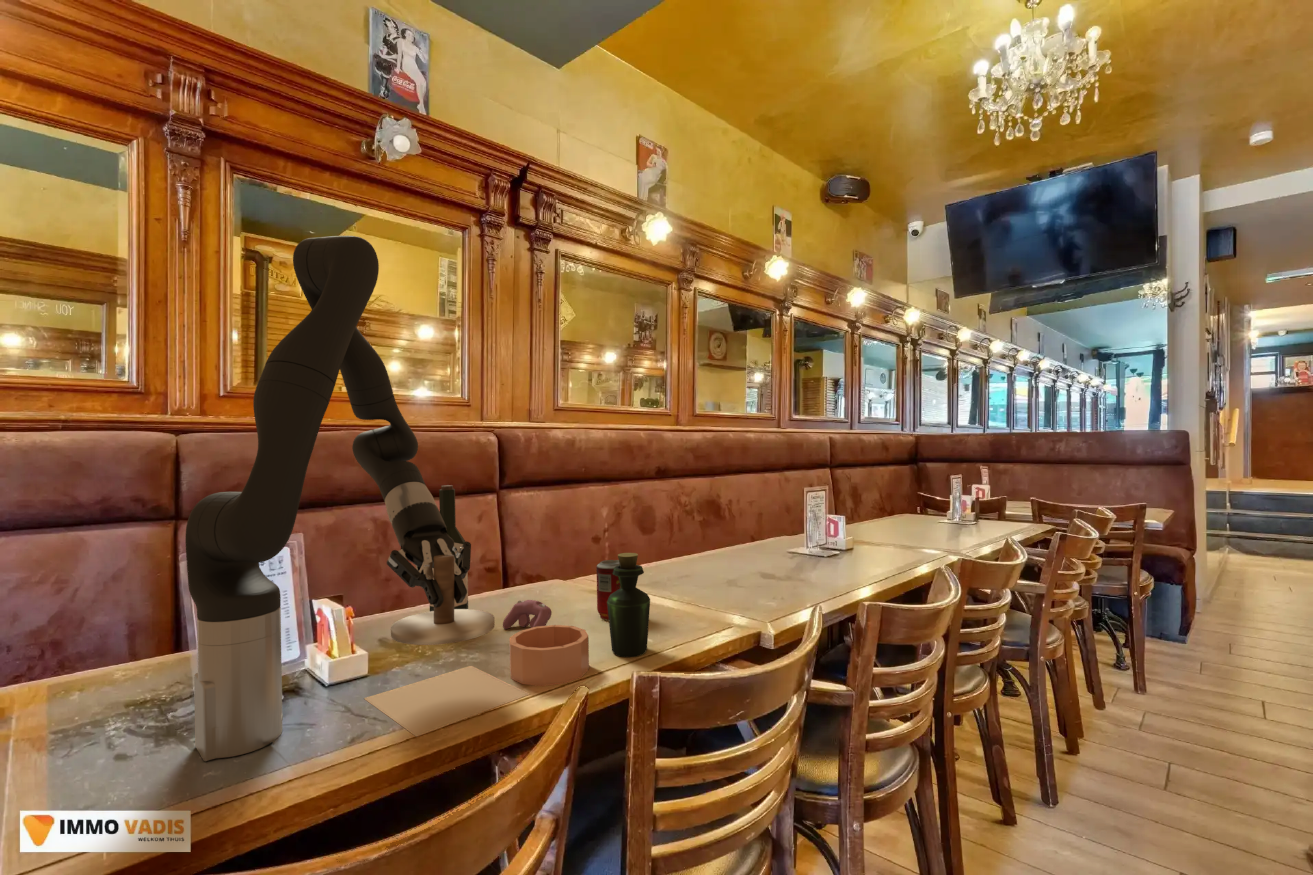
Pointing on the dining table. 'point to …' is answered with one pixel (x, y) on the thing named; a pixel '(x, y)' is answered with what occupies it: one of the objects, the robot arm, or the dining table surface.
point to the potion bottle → (628, 610)
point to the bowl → (549, 655)
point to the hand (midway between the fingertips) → (450, 601)
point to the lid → (443, 615)
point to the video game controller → (526, 609)
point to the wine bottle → (451, 532)
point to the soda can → (606, 585)
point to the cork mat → (444, 699)
